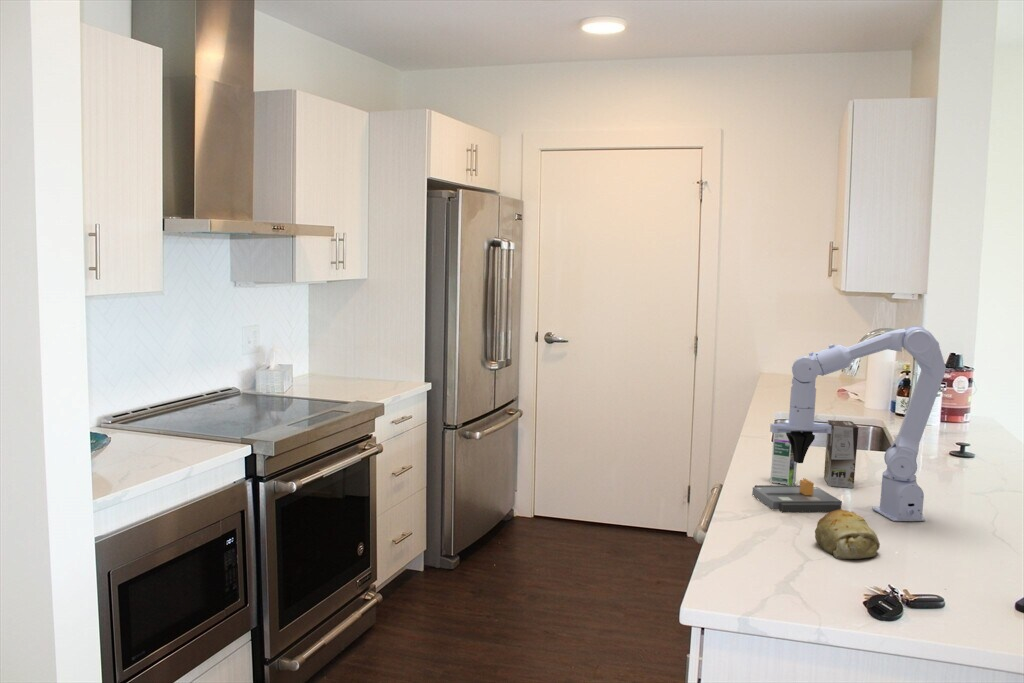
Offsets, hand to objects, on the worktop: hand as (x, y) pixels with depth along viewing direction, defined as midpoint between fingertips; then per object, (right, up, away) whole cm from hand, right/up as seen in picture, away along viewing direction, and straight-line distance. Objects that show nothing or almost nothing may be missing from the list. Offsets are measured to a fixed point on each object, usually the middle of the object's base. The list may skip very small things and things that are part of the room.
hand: (798, 462), depth 206 cm
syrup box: (+2, -8, +19) cm, 21 cm away
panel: (0, -10, +1) cm, 10 cm away
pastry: (-1, -14, -31) cm, 34 cm away
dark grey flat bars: (0, -10, +1) cm, 10 cm away
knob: (+2, -8, +1) cm, 8 cm away
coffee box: (+17, -9, +20) cm, 28 cm away
